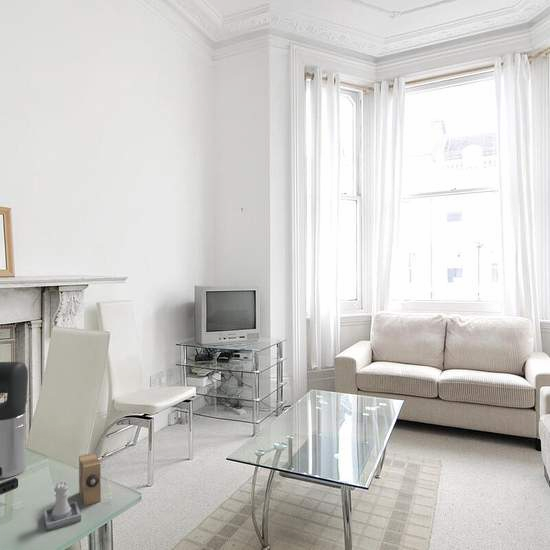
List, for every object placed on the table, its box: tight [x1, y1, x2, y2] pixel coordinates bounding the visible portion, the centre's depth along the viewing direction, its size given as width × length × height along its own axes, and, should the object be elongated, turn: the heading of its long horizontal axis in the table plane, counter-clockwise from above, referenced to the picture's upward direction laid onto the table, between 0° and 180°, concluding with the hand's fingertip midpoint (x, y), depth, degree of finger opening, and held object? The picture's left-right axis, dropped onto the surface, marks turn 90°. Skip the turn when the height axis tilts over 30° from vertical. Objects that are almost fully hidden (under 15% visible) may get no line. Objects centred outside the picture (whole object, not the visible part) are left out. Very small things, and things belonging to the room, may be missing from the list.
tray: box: [43, 500, 82, 532], centre depth 105 cm, size 7×7×2 cm
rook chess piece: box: [52, 481, 72, 521], centre depth 104 cm, size 4×4×8 cm
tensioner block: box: [78, 452, 102, 507], centre depth 114 cm, size 9×4×10 cm, turn 33°
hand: (9, 476), depth 98 cm, fingers open, 8 cm apart
